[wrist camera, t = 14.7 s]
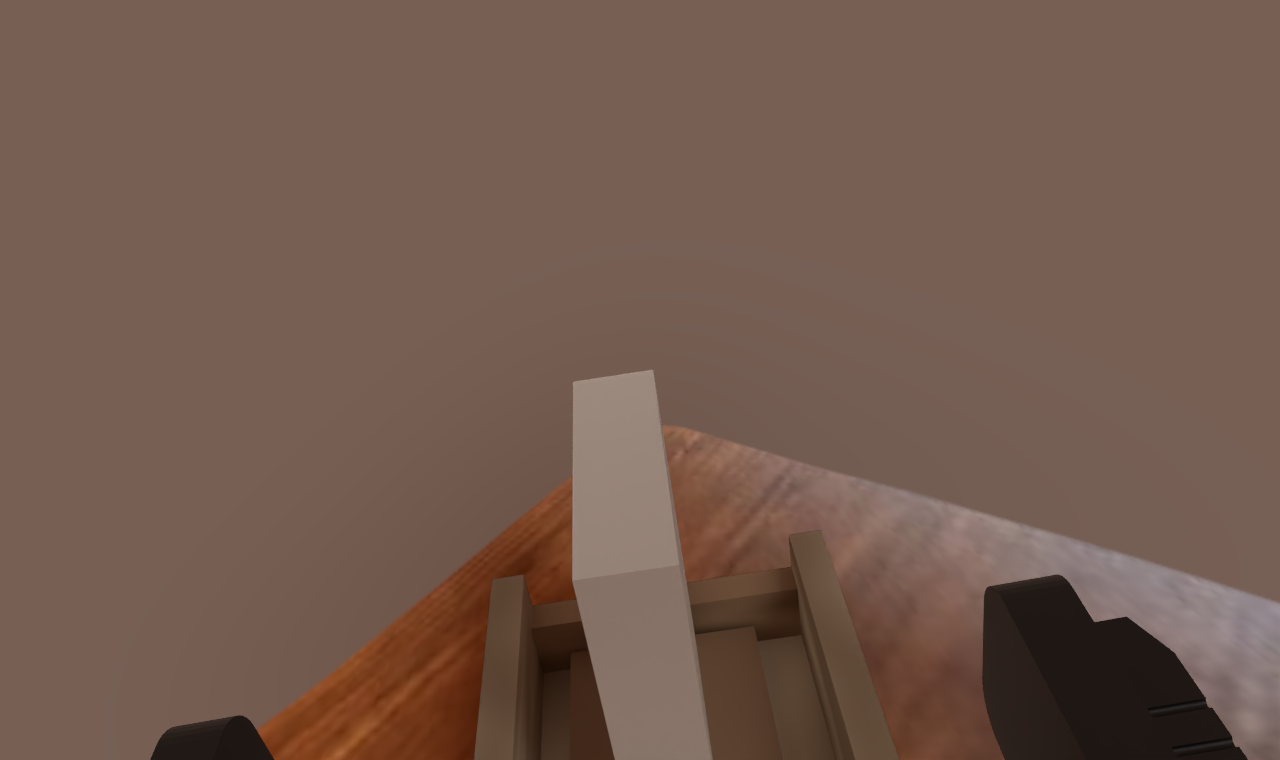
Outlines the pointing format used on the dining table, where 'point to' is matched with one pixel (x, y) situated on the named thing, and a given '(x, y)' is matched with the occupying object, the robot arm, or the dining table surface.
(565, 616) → the brown wooden tray
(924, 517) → the dining table surface
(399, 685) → the dining table surface
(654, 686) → the place card sign
